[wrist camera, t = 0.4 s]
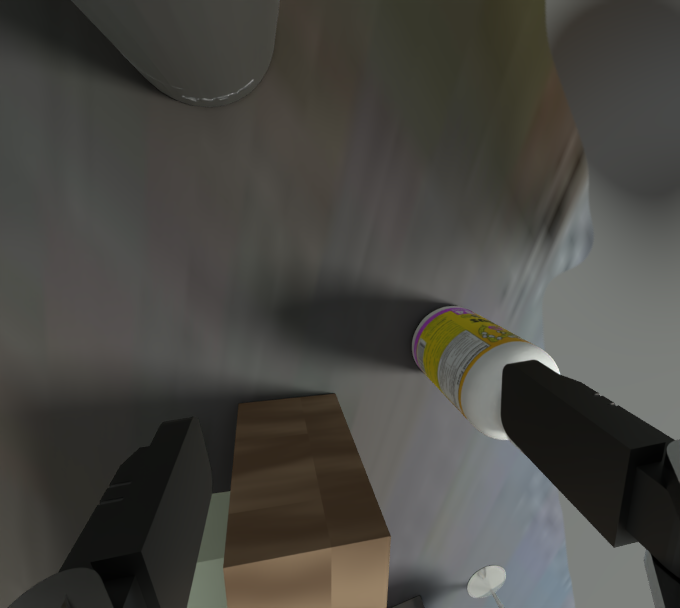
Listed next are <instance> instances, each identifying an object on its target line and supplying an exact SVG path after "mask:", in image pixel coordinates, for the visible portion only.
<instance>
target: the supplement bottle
mask: <svg viewBox="0 0 680 608" xmlns="http://www.w3.org/2000/svg"><path fill="white" fill-rule="evenodd" d="M412 354H413V357H414V360H415V362H416V364H417V365H418V367H419V368H420V369H421V370H422V371H423V373H424V374H425V375H426V376H427V377H428V378H429V379H430V380H431V381H432V382H433V383H434V384H435V385H436V386H437V388H438V389H439V390H440V391H441V392H442V393H443V394H444V395H445V396H446V397H447V398H448V399H449V400H450V401H451V402H452V403H453V405H454V406H455V407H456V408H457V409H458V410H459V411H460V412H461V413H462V414H463V415H464V416H465V418H466V419H467V420H468V421H469V422H470V423H471V424H472V425H473V426H474V427H475V428H476V429H477V430H478V431H480V432H481V433H483V434H485V435H487V436H489V437H491V438H495V439H500V440H510V442H511V443H512V444H513V445H515V446H516V444H515V443H514V442H513V441H512V440H511V439H510V438H509V437H508V435H507V434H506V432H505V430H504V428H503V425H502V422H501V389H502V371H503V368H504V366H505V365H506V364H510V363H516V362H522V361H527V360H537V361H539V362H541V363H542V364H544V365H546V366H547V367H549V368H550V369H552V370H553V371H555V372H557V373H558V374H560V372H559V369H558V367H557V365H556V363H555V362H554V360H553V359H552V358H551V357H550V356H549V355H548V354H547V353H546V352H545V351H543V350H542V349H540V348H539V347H537V346H535V345H533V344H531V343H530V342H528V341H526V340H524V339H522V338H520V337H518V336H516V335H515V334H513V333H511V332H509V331H507V330H505V329H503V328H502V327H500V326H498V325H496V324H494V323H492V322H491V321H489V320H487V319H485V318H483V317H481V316H479V315H477V314H476V313H474V312H472V311H470V310H467V309H465V308H462V307H458V306H447V307H443V308H439V309H437V310H435V311H433V312H431V313H430V314H428V315H427V316H426V317H425V318H424V319H423V320H422V321H421V323H420V324H419V326H418V327H417V329H416V331H415V333H414V336H413V340H412ZM516 447H517V446H516ZM517 448H518V447H517ZM518 449H519V448H518ZM519 450H520V449H519ZM520 451H521V450H520ZM521 452H522V451H521ZM522 453H523V452H522Z"/></svg>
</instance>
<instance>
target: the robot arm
mask: <svg viewBox="0 0 680 608" xmlns="http://www.w3.org/2000/svg"><path fill="white" fill-rule="evenodd" d="M71 1H72V2H73V3H74V4H75V5H76V6H77V7H78V8H79V9H80V10H81V11H82V12H83V13H84V14H85V16H86V17H87V18H88V19H89V20H90V21H91V22H92V23H93V24H94V25H95V26H96V27H97V28H98V29H99V30H100V31H101V32H102V33H103V34H104V35H105V36H106V37H107V39H108V40H109V41H110V42H111V43H112V44H113V45H114V46H115V47H116V48H117V49H118V50H119V51H120V52H121V53H122V54H123V56H124V57H125V58H126V59H127V60H128V61H129V62H130V63H131V64H132V65H133V66H134V67H135V68H136V69H137V70H138V71H139V72H140V73H141V74H142V75H143V76H144V77H145V78H146V79H147V80H148V81H149V82H150V83H151V84H153V85H154V86H155V87H156V88H157V89H159V90H160V91H161V92H163V93H165V94H166V95H168V96H170V97H172V98H173V99H175V100H177V101H180V102H183V103H186V104H189V105H192V106H201V107H217V106H225V105H228V104H230V103H233V102H236V101H238V100H240V99H241V98H243V97H244V96H246V95H247V94H249V93H250V92H251V91H252V90H253V89H254V88H255V87H256V86H257V85H258V84H259V83H260V82H261V80H262V78H263V77H264V75H265V73H266V71H267V69H268V68H269V65H270V61H271V58H272V55H273V51H274V43H275V35H276V26H277V19H278V11H279V2H280V0H71ZM501 422H502V425H503V428H504V430H505V432H506V434H507V435H508V437H509V438H510V439H511V440H512V441H513V442H514V443H515V444H516V446H517V447H518V448H519V449H520V450H521V451H522V452H523V453H524V454H525V455H526V456H527V457H528V458H529V459H530V460H531V461H532V462H533V463H534V464H535V465H536V466H537V468H538V469H539V470H540V471H541V472H542V473H543V474H544V475H545V476H546V477H547V478H548V479H549V480H550V481H551V482H552V483H553V484H554V485H555V486H556V487H557V488H558V490H559V491H560V492H561V493H562V494H564V496H565V497H566V498H567V499H568V500H569V501H570V502H571V503H572V504H573V505H574V506H575V507H576V508H577V509H578V510H579V512H580V513H581V514H582V515H583V516H584V517H585V518H586V519H587V520H588V521H589V522H590V523H591V524H592V525H593V526H594V527H595V528H596V529H597V530H598V531H599V533H601V535H602V536H603V537H604V538H605V539H606V540H607V541H608V542H609V543H610V544H611V545H612V546H613V547H614V548H615V547H619V546H623V545H627V544H631V543H635V542H639V543H640V544H642V545H643V546H644V547H645V548H646V552H645V558H644V564H645V569H646V572H647V577H648V581H649V585H650V589H651V593H652V597H653V601H654V605H655V608H680V440H674V439H672V438H670V437H669V436H667V435H665V434H664V433H662V432H661V431H659V430H658V429H656V428H654V427H653V426H651V425H649V424H648V423H646V422H645V421H643V420H641V419H640V418H638V417H636V416H635V415H633V414H631V413H630V412H628V411H627V410H625V409H623V408H622V407H620V406H615V404H614V402H612V401H610V400H609V399H607V398H605V397H604V396H600V395H599V393H598V392H596V391H594V390H593V389H591V388H589V387H588V386H586V385H585V384H583V383H581V382H579V381H576V380H573V379H570V378H568V377H565V376H562V375H560V374H558V373H557V372H555V371H553V370H552V369H550V368H549V367H547V366H546V365H544V364H542V363H541V362H539V361H537V360H527V361H522V362H516V363H510V364H506V365H505V366H504V368H503V371H502V389H501ZM211 496H212V471H211V466H210V462H209V458H208V454H207V450H206V446H205V441H204V437H203V433H202V429H201V425H200V422H199V420H198V418H197V417H190V418H184V419H178V420H172V421H166V422H163V423H162V424H161V425H160V427H159V429H158V431H157V433H156V435H155V437H154V439H153V441H152V443H151V445H150V446H148V447H142V448H139V449H138V450H137V451H136V452H135V453H134V454H133V455H131V456H130V457H129V458H128V459H127V460H126V461H125V462H124V463H123V464H122V465H121V466H120V468H119V469H118V471H117V473H116V475H115V476H114V478H113V480H112V481H111V483H110V488H107V490H106V492H105V493H104V495H103V497H102V499H101V500H100V505H97V507H96V509H95V511H94V512H93V514H92V516H91V517H90V519H89V521H88V523H87V524H86V526H85V528H84V529H83V531H82V533H81V535H80V536H79V538H78V540H77V541H76V543H75V545H74V547H73V548H72V550H71V552H70V553H69V555H68V557H67V559H66V560H65V562H64V564H63V565H62V567H61V569H60V571H59V572H58V573H57V574H54V575H52V576H50V577H48V578H46V579H44V580H43V581H41V582H39V583H38V584H36V585H35V586H33V587H32V588H30V589H29V590H27V591H26V592H25V593H24V594H22V595H21V596H20V597H19V598H17V599H16V600H15V601H14V602H13V603H12V604H11V605H10V606H9V607H8V608H187V605H188V600H189V596H190V591H191V587H192V582H193V578H194V573H195V569H196V564H197V560H198V555H199V551H200V546H201V542H202V537H203V533H204V528H205V524H206V519H207V515H208V510H209V506H210V501H211Z"/></svg>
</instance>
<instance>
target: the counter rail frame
mask: <svg viewBox="0 0 680 608" xmlns="http://www.w3.org/2000/svg"><path fill="white" fill-rule="evenodd" d="M392 608H425V607H424V605H423V602H422V600H421V597H420V596H417V597H415V598H413V599H410V600H408V601H406V602H404V603H401V604H399V605H397V606H394V607H392Z"/></svg>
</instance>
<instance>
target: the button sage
mask: <svg viewBox="0 0 680 608" xmlns="http://www.w3.org/2000/svg"><path fill="white" fill-rule="evenodd" d="M229 500H230V491H227V492H220V493H214V494H212V496H211V501H210V506H209V510H208V515H207V519H206V524H205V528H204V533H203V537H202V542H201V546H200V551H199V555H198V560H197V564H196V569H195V573H194V578H193V582H192V587H191V591H190V596H189V600H188V605H187V608H227V600H226V591H225V582H224V573H223V563H224V553H225V542H226V532H227V521H228V511H229Z"/></svg>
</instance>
